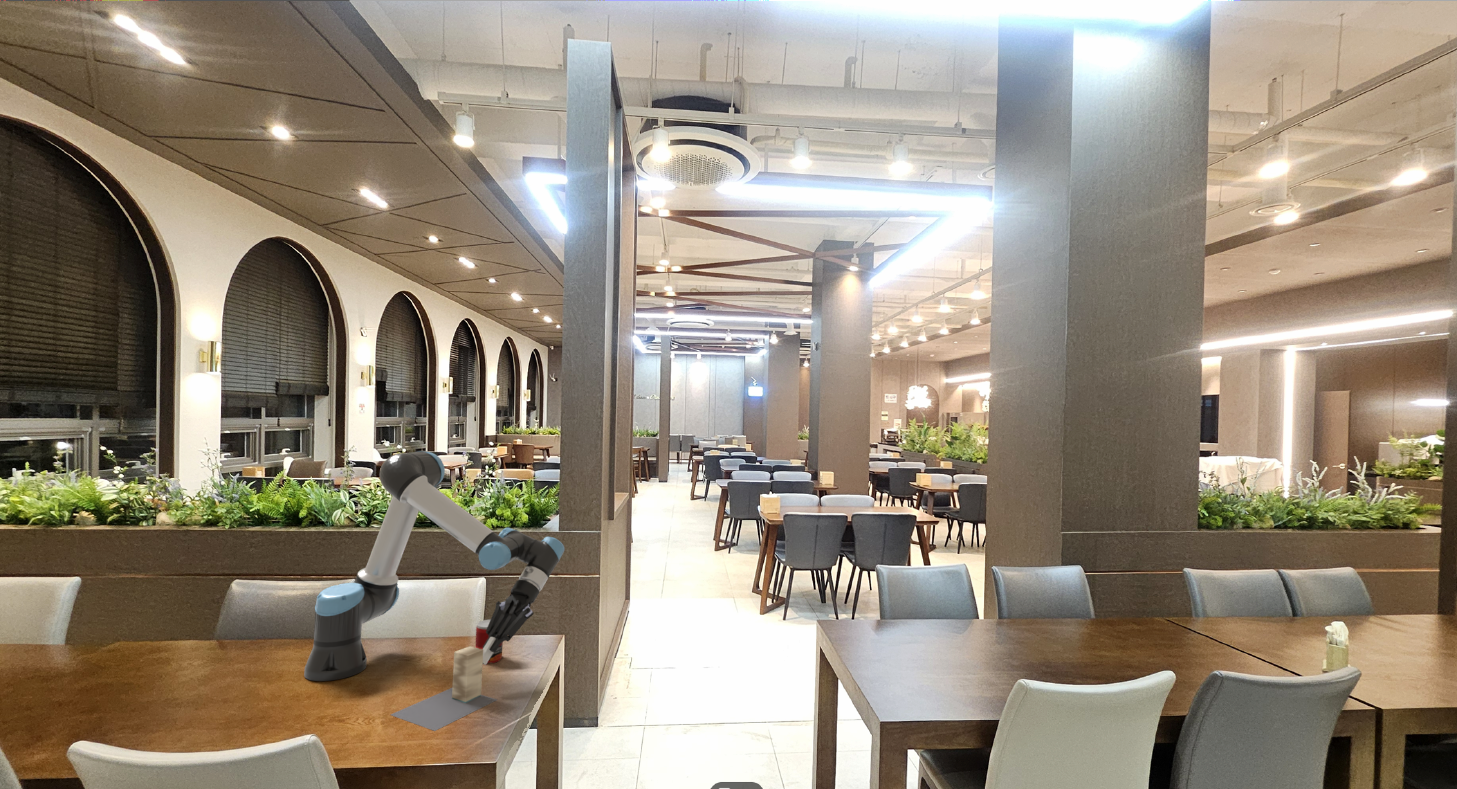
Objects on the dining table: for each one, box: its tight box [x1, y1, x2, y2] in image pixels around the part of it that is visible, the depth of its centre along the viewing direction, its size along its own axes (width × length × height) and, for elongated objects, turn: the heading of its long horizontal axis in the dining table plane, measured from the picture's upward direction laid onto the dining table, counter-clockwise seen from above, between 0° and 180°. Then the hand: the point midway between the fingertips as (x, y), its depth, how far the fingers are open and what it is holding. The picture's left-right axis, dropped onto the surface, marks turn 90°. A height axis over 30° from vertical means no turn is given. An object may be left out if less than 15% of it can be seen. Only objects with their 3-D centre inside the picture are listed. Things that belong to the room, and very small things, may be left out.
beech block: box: [451, 645, 484, 703], centre depth 164 cm, size 5×5×12 cm
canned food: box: [474, 618, 504, 664], centre depth 190 cm, size 8×8×11 cm
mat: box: [390, 687, 498, 732], centre depth 157 cm, size 16×19×1 cm
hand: (481, 661), depth 167 cm, fingers closed
